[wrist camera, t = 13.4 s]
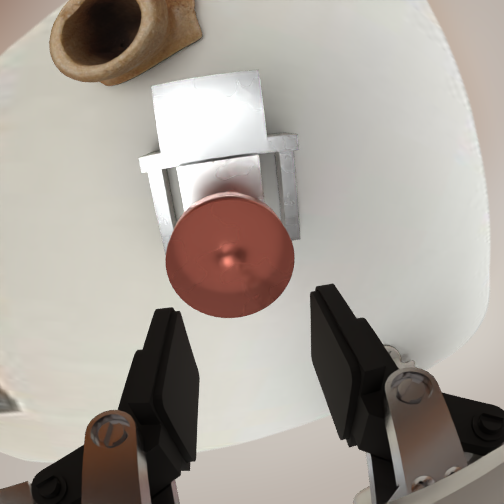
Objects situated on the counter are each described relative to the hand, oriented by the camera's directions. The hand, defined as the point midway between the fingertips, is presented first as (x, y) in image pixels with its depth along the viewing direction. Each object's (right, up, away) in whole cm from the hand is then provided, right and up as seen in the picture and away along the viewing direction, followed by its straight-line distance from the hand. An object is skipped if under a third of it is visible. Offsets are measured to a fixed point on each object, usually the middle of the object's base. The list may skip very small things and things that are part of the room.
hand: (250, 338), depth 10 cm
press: (-4, +12, +26) cm, 29 cm away
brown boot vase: (-12, +28, +18) cm, 35 cm away
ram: (-2, +8, +16) cm, 17 cm away
